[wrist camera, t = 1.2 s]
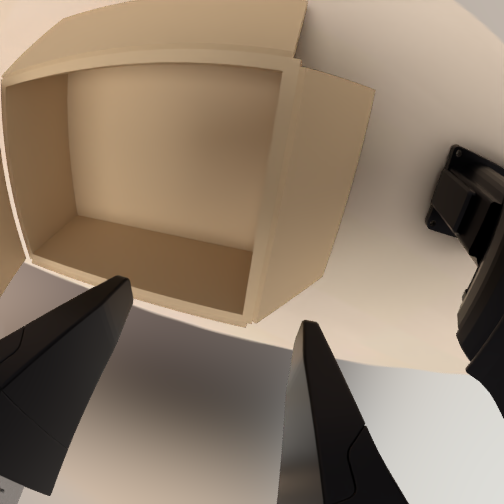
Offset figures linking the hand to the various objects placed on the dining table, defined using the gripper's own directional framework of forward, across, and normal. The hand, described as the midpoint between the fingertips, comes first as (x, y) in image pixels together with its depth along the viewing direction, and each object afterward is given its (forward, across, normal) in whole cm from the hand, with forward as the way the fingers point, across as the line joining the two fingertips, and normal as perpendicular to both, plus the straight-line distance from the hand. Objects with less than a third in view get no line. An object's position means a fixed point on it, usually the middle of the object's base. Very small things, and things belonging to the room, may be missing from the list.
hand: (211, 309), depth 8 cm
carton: (+13, +6, 0) cm, 14 cm away
